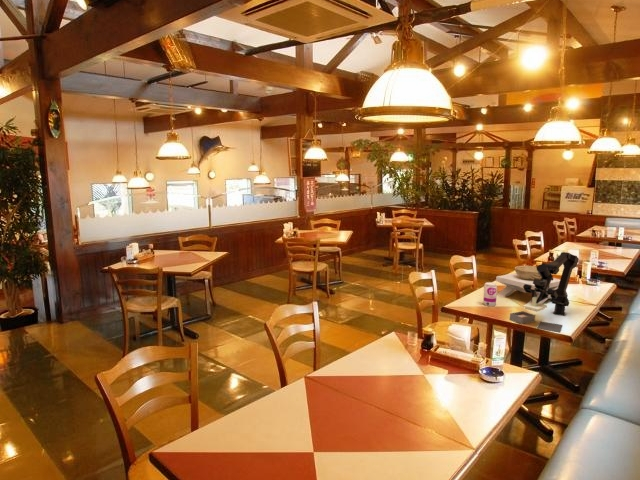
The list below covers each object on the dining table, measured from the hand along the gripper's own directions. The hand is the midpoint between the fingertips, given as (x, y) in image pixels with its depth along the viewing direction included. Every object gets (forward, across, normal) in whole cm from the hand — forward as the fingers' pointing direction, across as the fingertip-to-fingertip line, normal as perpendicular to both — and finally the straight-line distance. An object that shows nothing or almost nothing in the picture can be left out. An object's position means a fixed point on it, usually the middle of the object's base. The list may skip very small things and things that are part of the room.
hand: (534, 302), depth 258 cm
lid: (+1, 0, +3) cm, 3 cm away
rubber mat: (+7, +8, +12) cm, 16 cm away
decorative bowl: (-28, -32, +48) cm, 64 cm away
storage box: (+9, -7, +10) cm, 15 cm away
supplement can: (-1, -38, +20) cm, 43 cm away
